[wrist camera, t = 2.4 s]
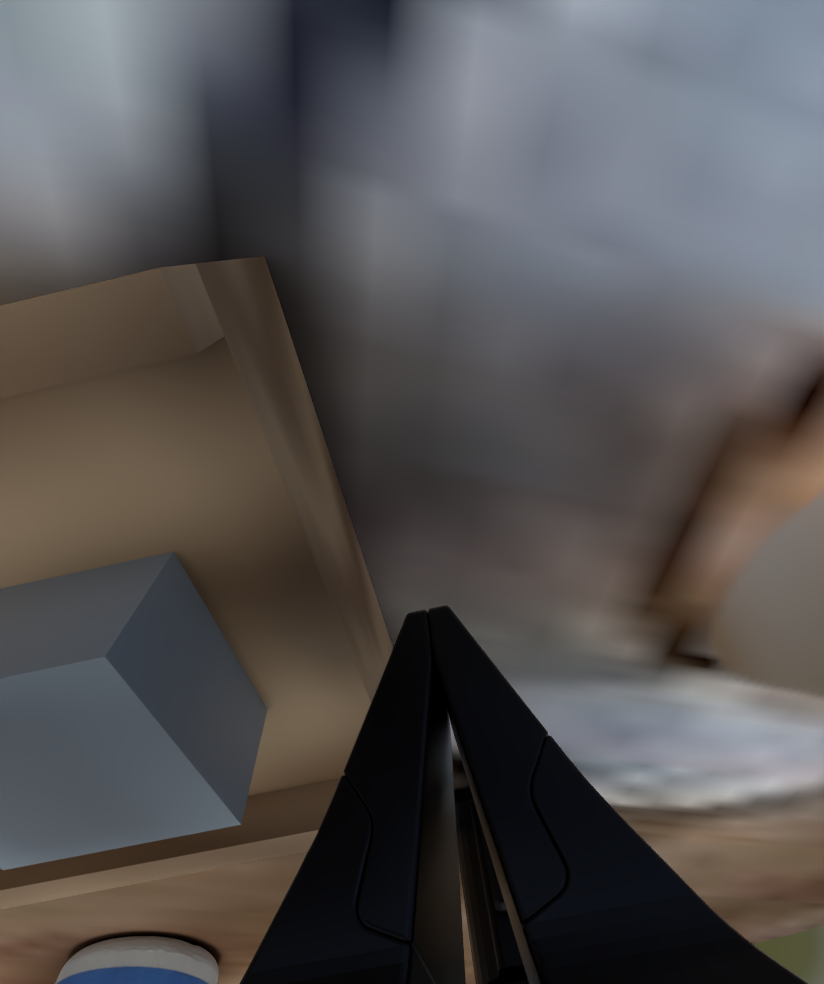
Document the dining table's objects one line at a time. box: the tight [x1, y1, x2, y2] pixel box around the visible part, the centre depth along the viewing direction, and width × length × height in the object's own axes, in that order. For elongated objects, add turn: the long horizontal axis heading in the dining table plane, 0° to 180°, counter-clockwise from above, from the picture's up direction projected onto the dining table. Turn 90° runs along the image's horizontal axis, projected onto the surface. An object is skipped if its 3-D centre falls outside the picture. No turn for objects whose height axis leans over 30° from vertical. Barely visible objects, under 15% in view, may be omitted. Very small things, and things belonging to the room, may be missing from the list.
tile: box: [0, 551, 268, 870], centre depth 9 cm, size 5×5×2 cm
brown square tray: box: [0, 256, 393, 909], centre depth 11 cm, size 14×14×6 cm
